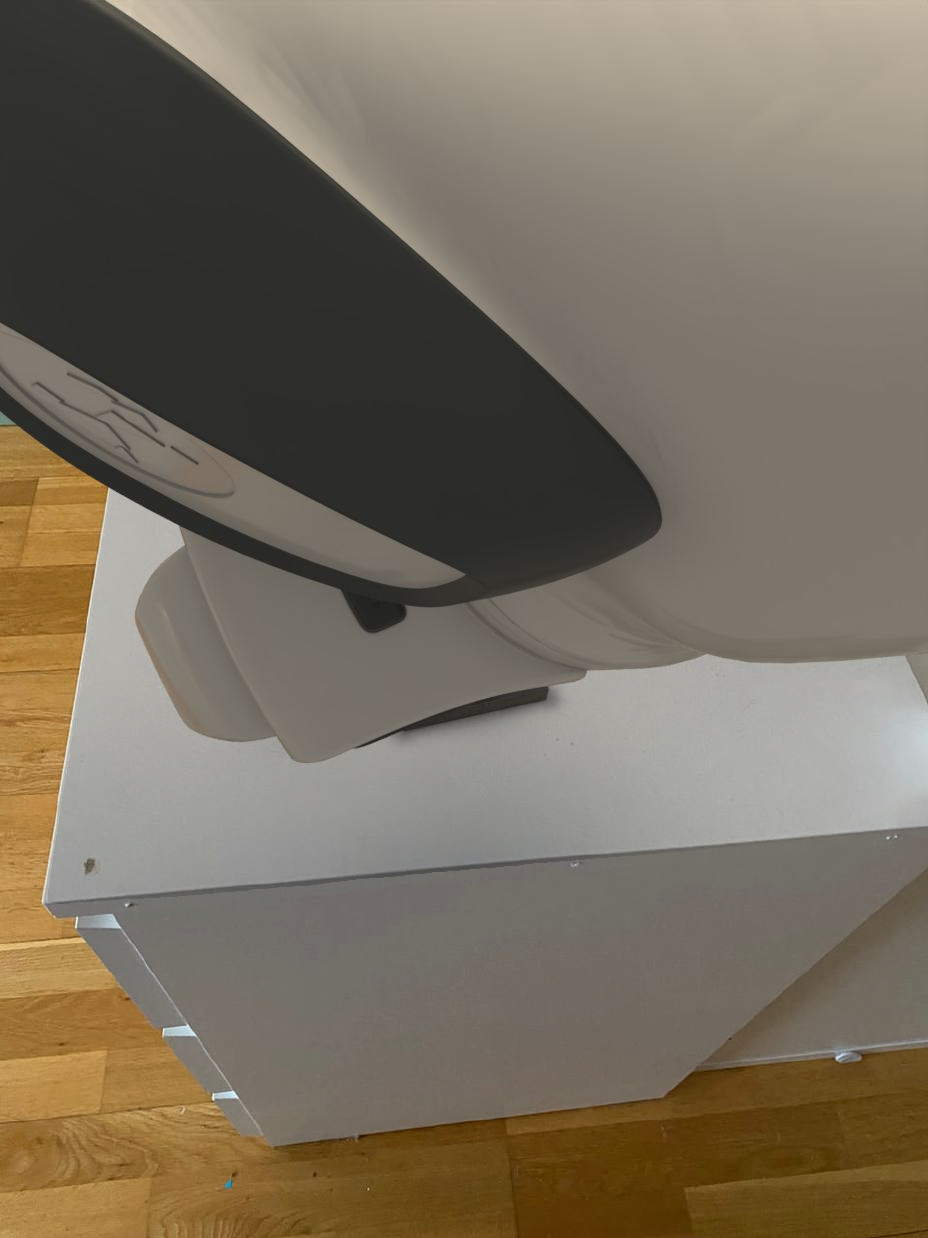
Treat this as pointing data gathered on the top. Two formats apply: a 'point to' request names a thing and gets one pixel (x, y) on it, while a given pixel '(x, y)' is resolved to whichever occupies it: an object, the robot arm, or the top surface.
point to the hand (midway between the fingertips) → (404, 561)
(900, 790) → the top surface
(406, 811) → the top surface
